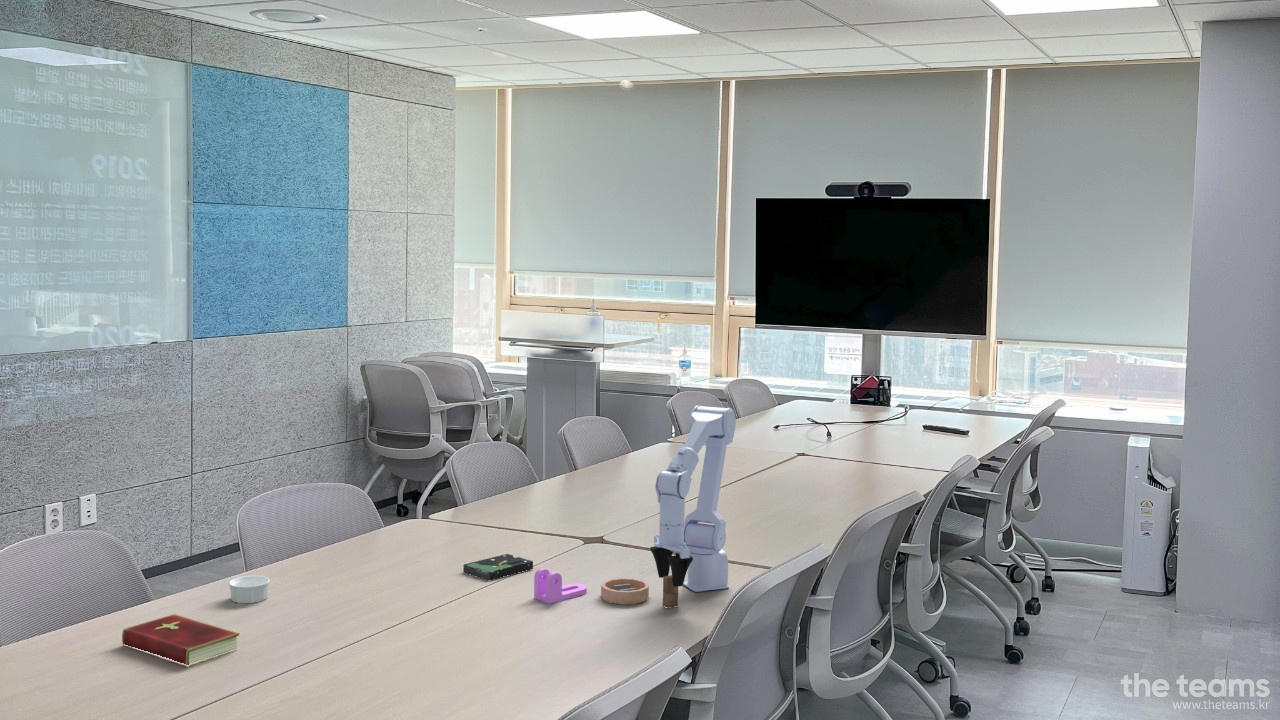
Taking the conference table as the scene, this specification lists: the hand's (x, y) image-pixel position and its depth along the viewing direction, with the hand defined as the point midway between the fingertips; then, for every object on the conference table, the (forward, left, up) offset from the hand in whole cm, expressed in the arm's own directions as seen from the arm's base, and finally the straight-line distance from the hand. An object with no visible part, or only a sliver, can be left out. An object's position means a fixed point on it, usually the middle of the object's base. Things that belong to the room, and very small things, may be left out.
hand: (670, 581), depth 257 cm
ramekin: (+88, -41, -6) cm, 97 cm away
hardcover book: (+104, -12, -7) cm, 105 cm away
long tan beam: (0, 0, -6) cm, 6 cm away
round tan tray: (+7, -10, -6) cm, 14 cm away
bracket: (+20, -17, -6) cm, 27 cm away
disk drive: (+28, -42, -7) cm, 51 cm away
